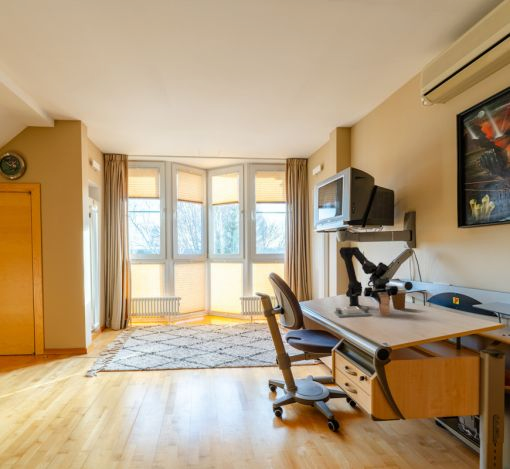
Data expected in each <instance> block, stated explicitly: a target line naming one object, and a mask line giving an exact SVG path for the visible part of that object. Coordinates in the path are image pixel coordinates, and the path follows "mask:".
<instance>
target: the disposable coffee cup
mask: <svg viewBox="0 0 510 469" xmlns="http://www.w3.org/2000/svg"><path fill="white" fill-rule="evenodd" d="M406 294H407V289H406V287H405V288H404V287H398V292H397V295H391V296H390V298H391V300H392V301H391V302H392V306H393V309H394V310H405V308H406V297H407V296H406Z"/></svg>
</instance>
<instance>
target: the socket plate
mask: <svg viewBox="0 0 510 469" xmlns="http://www.w3.org/2000/svg"><path fill="white" fill-rule="evenodd" d="M334 314H335V315H336V316H337V317H338V318H354V317H355V318H356V317H357V318H358V317H359V318H360V317H371V316H372V313H370V312H369V308H368V307H367V306H361V309H360V308H359V306H344V307H343V310H342V309H341V308H340V307H336V308H335V310H334Z"/></svg>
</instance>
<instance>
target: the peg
mask: <svg viewBox="0 0 510 469" xmlns="http://www.w3.org/2000/svg"><path fill="white" fill-rule="evenodd" d="M378 296H379V298H380V301H381V304H380V303H379V302H378V305H379V306H378V310H379V315H381V316H391V309H390V302H389V295H387V294H386V293H381V294H378Z"/></svg>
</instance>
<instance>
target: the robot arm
mask: <svg viewBox="0 0 510 469" xmlns="http://www.w3.org/2000/svg"><path fill="white" fill-rule="evenodd" d="M339 254H340V257H341V258H342V260H343V261H344V264H345V269H346V273H347V278H348V284H347V285H348V286H347V288H348V290H347V291H346V292H345V296H346V297H348V298H349V306H348V307H356V306H357V307H360V302H359V301H360V300H359V297H361V296H362V293H363V297H365V298H367V297H370V298H372V299H374V300H375V301H376V302H378V304H379V303H380V304H381V301H380V298H379V296H378V295H379V294H387V295H389V303H390V302H391V301H390V300H391V299H390V298H391V295H397V292H398V288H399V287H398V286H397V285H390V286H389V288H387V284H390V278H389V277H387V276H386V275H387V273H388V271H389V270H390V267H389V265H387V264H386V263H383V262H381V261H380V262H378V265H376V264H375V263H374V262H372V261H370V260H368V258H367V257H366V256H365V254H363V252H362V251H361V250H360V249H359V247H358V246H342V247H340V249H339ZM353 257H354V258H355V259H356V260H357V261H358V262H359V264H360V265H361V267H362V268H361V269H362V270H363V272H364V274H366V275H370V276H369V278H368V279H369V280H370V281H372V284H373V287H372V286H369V287H364V289H363V285H362V281H359V280H358V278H357V275H356V270H355V266H354V262H353ZM384 276H386V277H384Z"/></svg>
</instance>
